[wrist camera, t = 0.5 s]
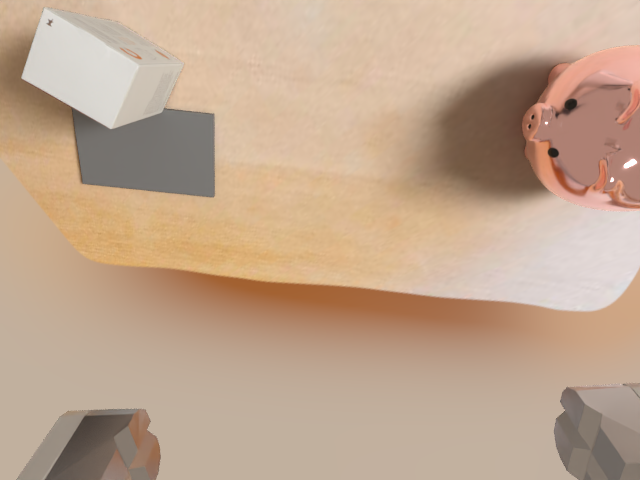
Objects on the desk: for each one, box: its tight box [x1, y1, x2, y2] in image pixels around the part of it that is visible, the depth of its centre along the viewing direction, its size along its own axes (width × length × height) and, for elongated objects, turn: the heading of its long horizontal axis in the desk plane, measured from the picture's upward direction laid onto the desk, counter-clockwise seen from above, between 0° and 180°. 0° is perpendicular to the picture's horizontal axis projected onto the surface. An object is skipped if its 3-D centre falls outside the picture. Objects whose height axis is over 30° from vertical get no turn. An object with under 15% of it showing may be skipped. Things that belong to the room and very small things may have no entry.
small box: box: [21, 7, 184, 129], centre depth 41 cm, size 8×6×13 cm
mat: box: [72, 108, 215, 197], centre depth 51 cm, size 10×16×1 cm, turn 84°
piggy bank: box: [522, 45, 640, 211], centre depth 41 cm, size 15×18×16 cm
